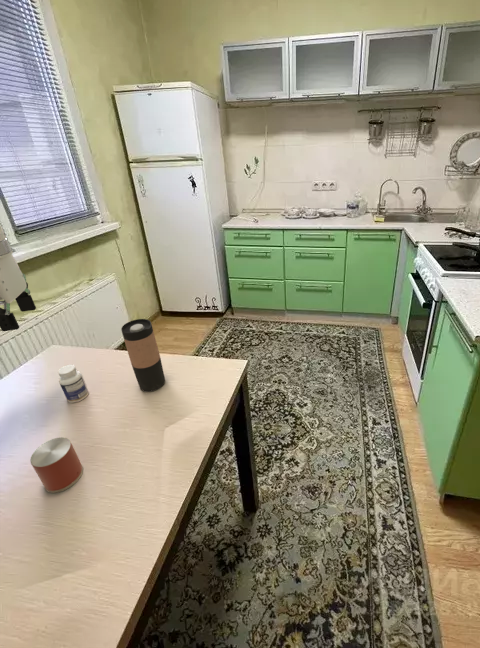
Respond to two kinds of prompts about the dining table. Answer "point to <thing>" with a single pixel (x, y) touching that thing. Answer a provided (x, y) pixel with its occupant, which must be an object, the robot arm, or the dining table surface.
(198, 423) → the dining table surface
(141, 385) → the travel mug
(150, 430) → the dining table surface
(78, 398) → the pill bottle
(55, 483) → the tin can
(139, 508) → the dining table surface
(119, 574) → the dining table surface
